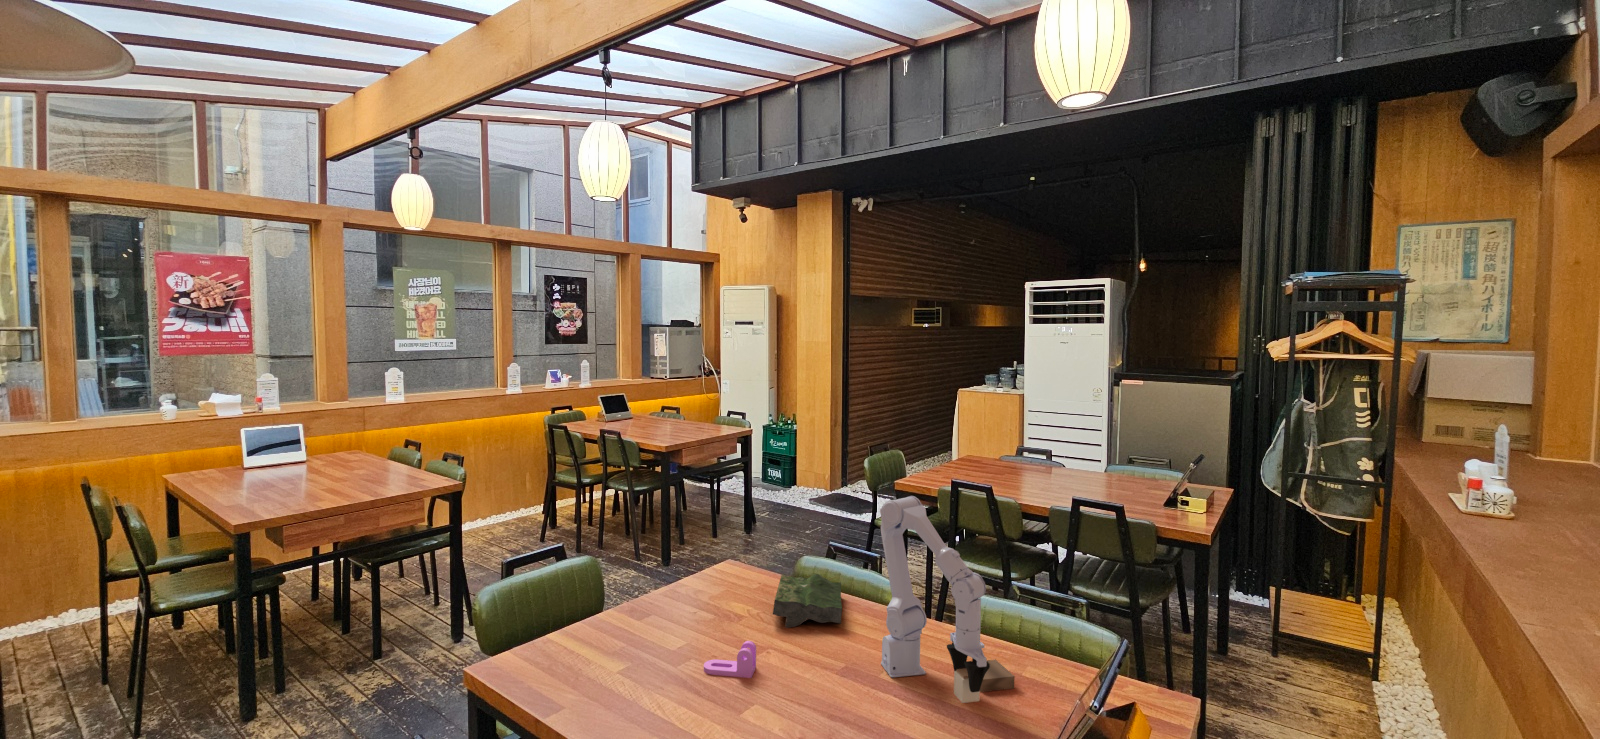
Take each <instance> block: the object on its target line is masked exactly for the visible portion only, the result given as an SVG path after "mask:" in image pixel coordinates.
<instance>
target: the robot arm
mask: <svg viewBox="0 0 1600 739" xmlns="http://www.w3.org/2000/svg"><path fill="white" fill-rule="evenodd" d="M879 512H880V518H881V523H880V535H881V540H882V546H883V551H884V558H885V563H886V568H887V575H888V580H889V587H890V591H891V597H892V598H891V600H890V602H888V603H889V604H887V607H886V613H887V614H886V623H885V624H886V628H887V630H888V632H889V634H888V635H885V636H882V639H881V640H882V641H881V662H880V664H881V666H882V667H883V669H884V670H885V671H886V672H887V674H888V676H889V677H890V678H898V677H899V678H901V677H910V676H921V675H926V674H927V673H926V671H925V670H924V668H923V667H922V666H921V634H922V633H923V629H924V628H925V627H926V625H927V622H928V620H927V615H926V612H925V610H924V609H923V605H922V601H921V599H919V598H918V597H916V596H915V595H914V591H913V587H912V580H911V575H910V568H909V565H908V564H909V563H908V558H907V553H906V547H905V541H904V536H903V534H904V533H905V531H906V530H911V531H915V532H916V533H917V535H918V536H919V538H920V539H921V540H922V541H923V542H924V543H925V545H926V546H927V547H928V548H929V549H930V551H931V552H932V553H933V554H934V555H935V558H934V562H935V563H934V564H935V565H936V566H937V568H939V570H940V571H941V572H942V575H943V576H944V577H945V579H946V580H947V581H948V582H949V584H950V585H951V587H950V592H951V593H950V594H951V595H952V597H953V600H954V606H955V631H954V632H950V634H949V636H950V642H952V643H949V644H946V649H947V650H948V652H949V655H950V658H951V661H952V666H953V671H957V669H963V668H966V669H967V673H968V678H969V688H970V691H971V692H979V691H980V688H981V684H982V681H983V678H984V676H985V674H986V672H987V670H988V669H989V668H990V664H989V663H988V662H987V659H988V658H987V657H986V656H985V654H984V651H983V649H985V644H984V643H983V642H982V641H981V622H982V621H981V619H982V618H981V613H982V612H981V611H982V597H983V596H984V595H985V594H986V592H987V591H986V590H987V587H986V582H985V580H984V579H983V577H982V576H981V575H980V574H979V573H977V572H973V570H971V569H970V568H969V567H968V566H967V564H966V563H965V562H964V560H963V559H962V558H961V557H960V556H961V554H960V553H959V551H958V550H955V549H954V548H953V547H952V548H951V547H948V546H947V545H946V544H945V542H944V541H943V539H942V538H941V536H940V535H939V533H938V531H937V530H936V528H935V527H934V526H933V523H932V522H931V521H930V519H929V518H928V516H927V510H926V507H925V506H924V505H923V504H922V502H921V501H920V499H919V498H917V497H916V496H914V495H909V496H906V497H902V498H898V499H897V498H896V499H893V500H891V499H889V500H887V501H886V502H884V503H883V505H882V506H881V508H880V509H879ZM968 657H970V658H971V660H970V661H969V660H968ZM967 660H968V661H967Z"/></svg>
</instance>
